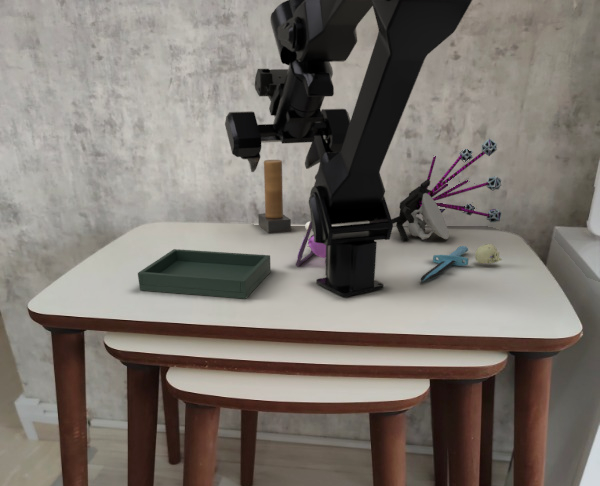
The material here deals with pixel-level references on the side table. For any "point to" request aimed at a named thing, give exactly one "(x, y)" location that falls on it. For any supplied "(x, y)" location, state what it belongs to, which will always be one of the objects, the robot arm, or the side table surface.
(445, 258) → the knife
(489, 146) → the decorative piece
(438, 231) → the miniature
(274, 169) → the wooden peg on stand
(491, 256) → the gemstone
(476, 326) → the side table surface
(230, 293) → the tray
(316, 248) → the purple triangular frame ornament
